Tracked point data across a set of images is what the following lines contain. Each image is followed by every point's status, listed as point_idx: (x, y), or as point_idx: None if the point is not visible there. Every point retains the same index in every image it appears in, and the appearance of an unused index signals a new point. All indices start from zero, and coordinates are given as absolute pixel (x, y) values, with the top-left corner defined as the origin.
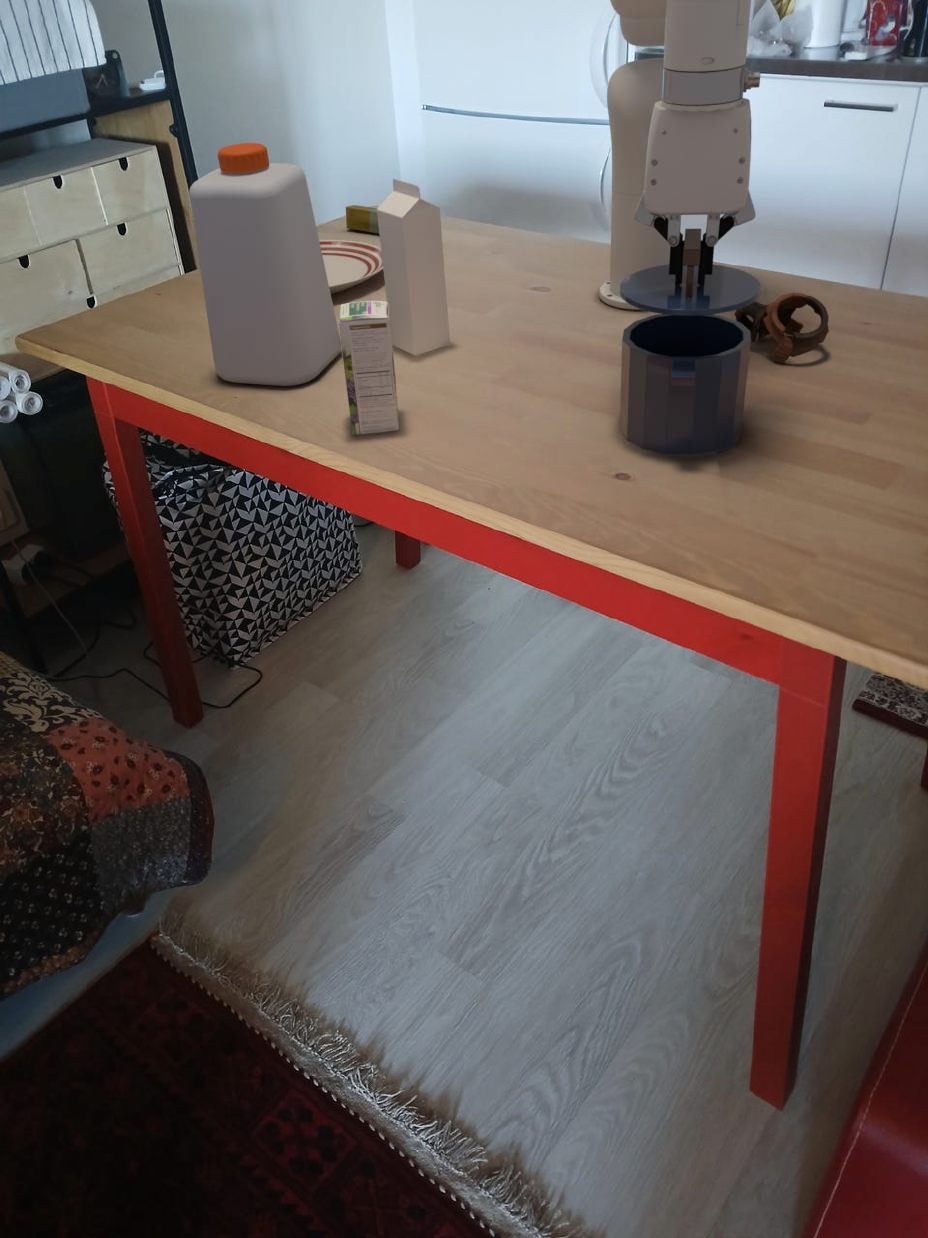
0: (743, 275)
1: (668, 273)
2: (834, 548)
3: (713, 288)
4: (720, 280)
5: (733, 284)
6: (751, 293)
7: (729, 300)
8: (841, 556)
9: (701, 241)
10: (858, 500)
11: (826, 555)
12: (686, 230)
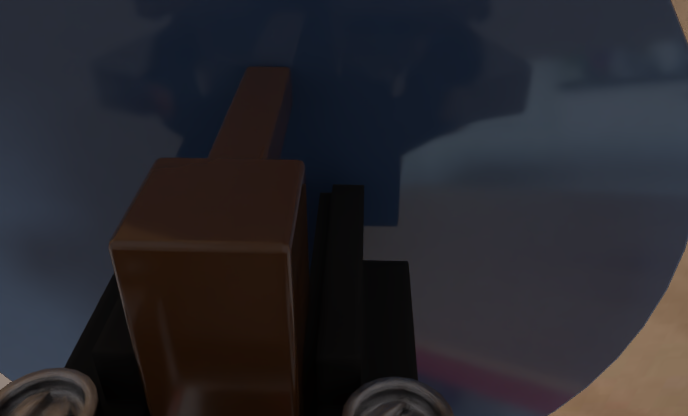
0: (632, 85)
1: (112, 33)
2: (586, 392)
3: (412, 286)
4: (464, 173)
5: (531, 233)
6: (598, 347)
7: (476, 409)
8: (590, 407)
9: (310, 398)
10: (684, 272)
11: (568, 406)
12: (134, 303)
